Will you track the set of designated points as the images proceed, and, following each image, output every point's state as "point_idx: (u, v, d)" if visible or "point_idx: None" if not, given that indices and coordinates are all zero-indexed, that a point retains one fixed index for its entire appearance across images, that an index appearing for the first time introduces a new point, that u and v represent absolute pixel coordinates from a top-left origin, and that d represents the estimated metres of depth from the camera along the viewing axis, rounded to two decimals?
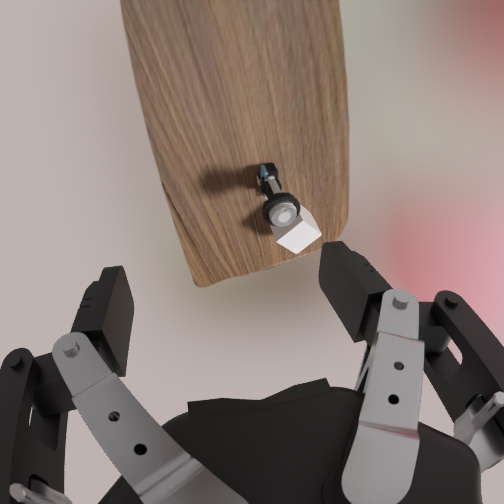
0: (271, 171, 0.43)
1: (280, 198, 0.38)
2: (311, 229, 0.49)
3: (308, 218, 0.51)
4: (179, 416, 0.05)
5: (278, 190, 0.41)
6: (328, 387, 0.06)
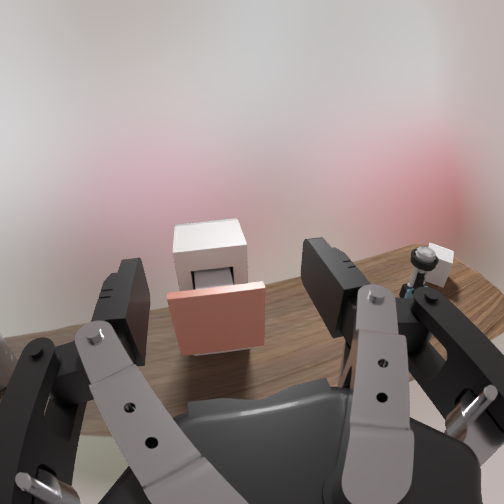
0: (405, 288, 0.47)
1: (416, 259, 0.43)
2: None
3: None
4: (179, 416, 0.05)
5: (413, 270, 0.45)
6: (328, 387, 0.06)
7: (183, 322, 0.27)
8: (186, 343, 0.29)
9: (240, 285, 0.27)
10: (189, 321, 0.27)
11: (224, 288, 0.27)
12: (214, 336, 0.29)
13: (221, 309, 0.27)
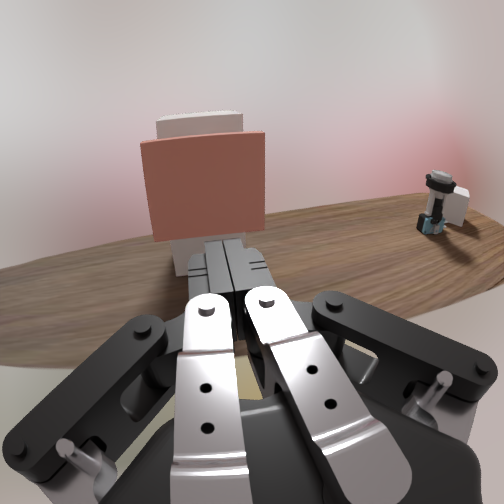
0: (422, 217, 0.41)
1: (432, 179, 0.37)
2: None
3: None
4: None
5: (430, 194, 0.39)
6: None
7: (158, 181, 0.21)
8: (161, 219, 0.22)
9: (233, 132, 0.21)
10: (166, 180, 0.21)
11: (213, 134, 0.20)
12: (198, 208, 0.22)
13: (208, 161, 0.21)
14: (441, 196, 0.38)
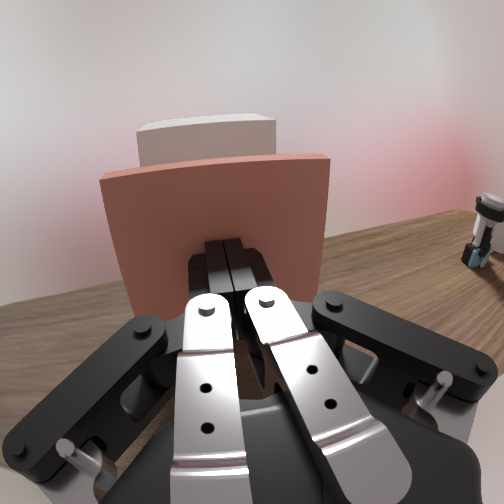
0: (469, 248, 0.31)
1: (485, 205, 0.27)
2: None
3: (479, 217, 0.38)
4: None
5: (480, 222, 0.29)
6: None
7: (138, 247, 0.11)
8: (148, 305, 0.13)
9: (273, 155, 0.11)
10: (151, 244, 0.11)
11: (236, 158, 0.11)
12: None
13: (228, 211, 0.11)
14: (492, 224, 0.29)
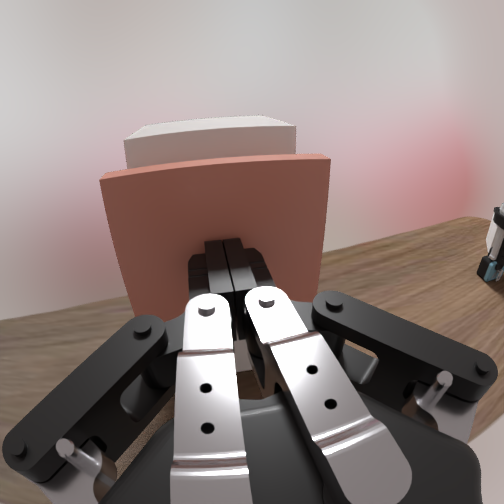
0: (486, 262, 0.29)
1: None
2: None
3: (493, 227, 0.35)
4: None
5: (498, 234, 0.26)
6: None
7: (138, 247, 0.11)
8: (148, 305, 0.13)
9: (273, 155, 0.11)
10: (151, 244, 0.11)
11: (236, 158, 0.11)
12: None
13: (228, 211, 0.11)
14: None
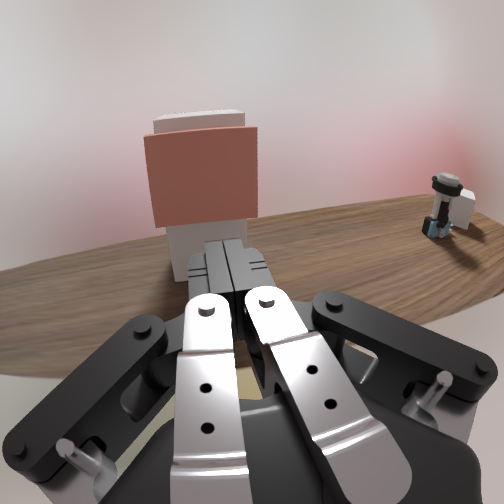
0: (428, 220, 0.39)
1: (439, 182, 0.35)
2: None
3: None
4: None
5: (436, 197, 0.37)
6: None
7: (159, 171, 0.22)
8: (161, 206, 0.24)
9: (228, 127, 0.22)
10: (167, 170, 0.22)
11: (210, 128, 0.22)
12: (196, 196, 0.24)
13: (205, 153, 0.22)
14: (447, 199, 0.37)
